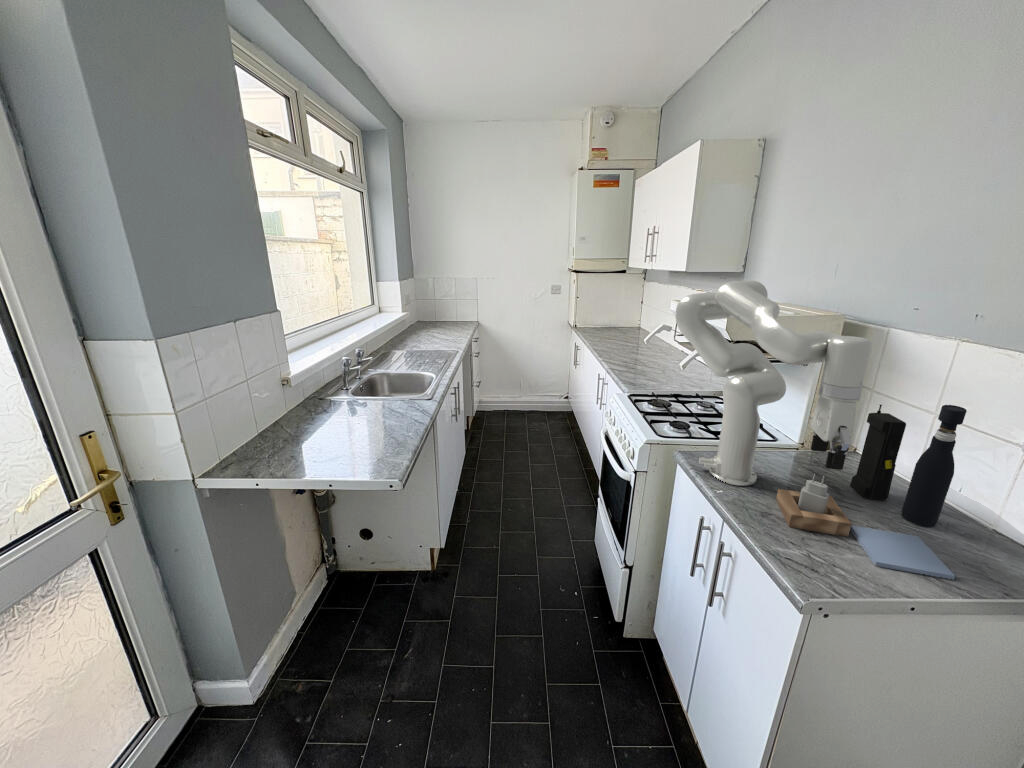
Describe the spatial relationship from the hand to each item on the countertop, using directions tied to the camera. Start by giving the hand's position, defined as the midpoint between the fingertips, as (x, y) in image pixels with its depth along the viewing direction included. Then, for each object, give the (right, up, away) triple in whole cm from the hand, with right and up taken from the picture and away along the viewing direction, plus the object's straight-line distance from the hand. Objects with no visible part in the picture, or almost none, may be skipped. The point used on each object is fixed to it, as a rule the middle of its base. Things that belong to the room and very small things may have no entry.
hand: (825, 459), depth 98 cm
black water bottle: (+26, -16, +4) cm, 31 cm away
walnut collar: (0, -16, +5) cm, 17 cm away
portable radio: (+23, -13, +15) cm, 31 cm away
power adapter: (0, -16, +5) cm, 17 cm away
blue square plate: (+10, -19, -7) cm, 23 cm away
